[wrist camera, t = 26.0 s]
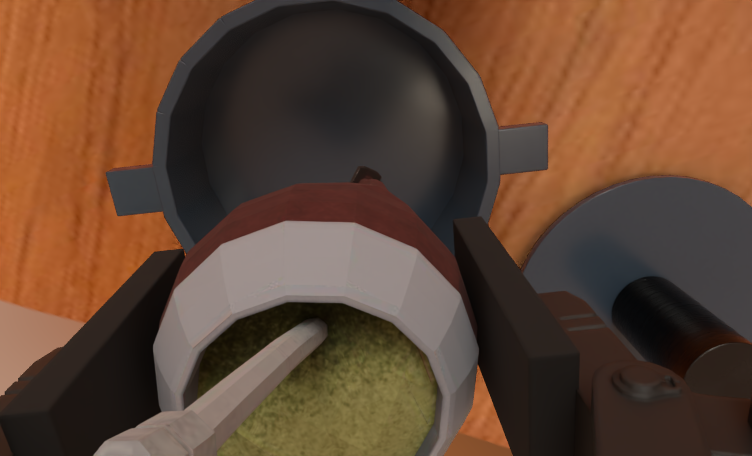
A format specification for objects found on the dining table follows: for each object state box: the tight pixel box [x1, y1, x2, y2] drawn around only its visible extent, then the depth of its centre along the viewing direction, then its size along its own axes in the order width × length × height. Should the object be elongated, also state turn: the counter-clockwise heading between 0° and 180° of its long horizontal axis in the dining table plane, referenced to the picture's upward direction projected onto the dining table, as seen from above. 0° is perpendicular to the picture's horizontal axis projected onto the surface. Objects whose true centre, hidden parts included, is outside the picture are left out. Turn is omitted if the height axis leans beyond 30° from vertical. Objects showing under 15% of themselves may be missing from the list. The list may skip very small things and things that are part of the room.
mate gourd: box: [93, 166, 479, 456], centre depth 10 cm, size 8×8×15 cm
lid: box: [521, 175, 752, 399], centre depth 33 cm, size 18×18×10 cm
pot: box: [106, 0, 548, 257], centre depth 30 cm, size 17×23×7 cm
